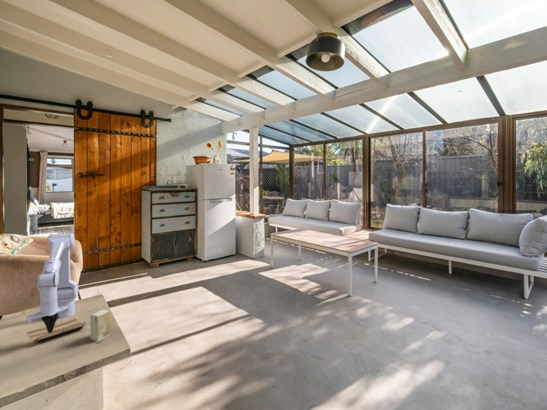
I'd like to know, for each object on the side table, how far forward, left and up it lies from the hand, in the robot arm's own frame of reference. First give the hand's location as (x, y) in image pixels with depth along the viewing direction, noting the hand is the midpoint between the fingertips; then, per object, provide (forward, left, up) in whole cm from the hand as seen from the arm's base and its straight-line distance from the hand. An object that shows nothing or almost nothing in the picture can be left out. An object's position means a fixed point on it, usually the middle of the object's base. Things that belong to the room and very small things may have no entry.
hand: (50, 331), depth 122 cm
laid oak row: (-11, +4, -5) cm, 12 cm away
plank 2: (-2, +9, -3) cm, 9 cm away
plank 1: (-2, 0, -3) cm, 3 cm away
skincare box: (+13, +15, -5) cm, 20 cm away
